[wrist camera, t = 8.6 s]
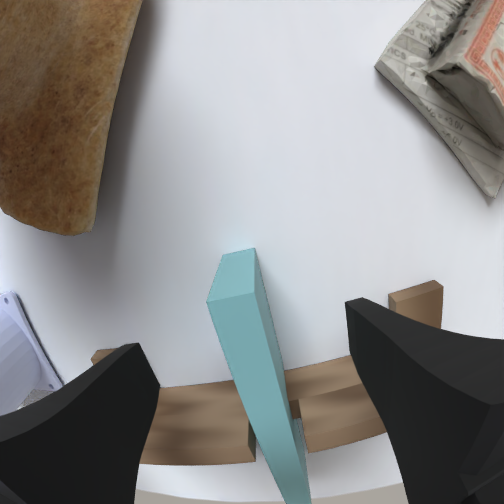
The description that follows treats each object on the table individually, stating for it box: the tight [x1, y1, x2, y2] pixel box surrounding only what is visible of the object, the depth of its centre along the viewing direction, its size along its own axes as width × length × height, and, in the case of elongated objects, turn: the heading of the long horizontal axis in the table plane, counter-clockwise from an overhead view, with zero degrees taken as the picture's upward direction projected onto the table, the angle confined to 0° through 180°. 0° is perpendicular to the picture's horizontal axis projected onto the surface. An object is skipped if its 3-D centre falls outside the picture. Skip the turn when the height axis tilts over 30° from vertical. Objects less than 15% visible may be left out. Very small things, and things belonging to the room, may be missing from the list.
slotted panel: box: [206, 248, 312, 504], centre depth 13 cm, size 16×2×5 cm, turn 13°
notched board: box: [91, 280, 443, 465], centre depth 13 cm, size 20×8×5 cm, turn 103°
